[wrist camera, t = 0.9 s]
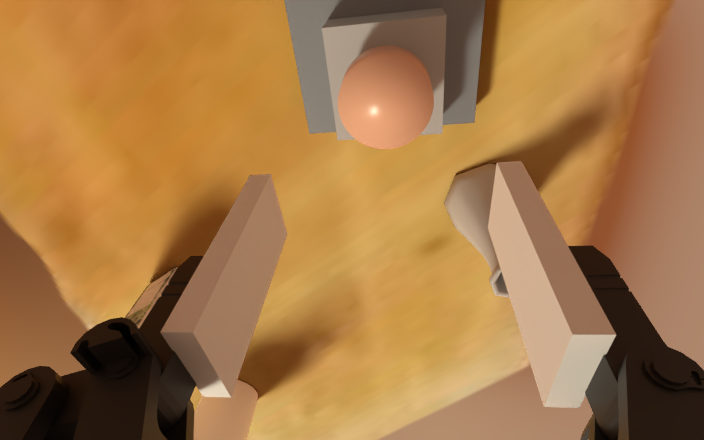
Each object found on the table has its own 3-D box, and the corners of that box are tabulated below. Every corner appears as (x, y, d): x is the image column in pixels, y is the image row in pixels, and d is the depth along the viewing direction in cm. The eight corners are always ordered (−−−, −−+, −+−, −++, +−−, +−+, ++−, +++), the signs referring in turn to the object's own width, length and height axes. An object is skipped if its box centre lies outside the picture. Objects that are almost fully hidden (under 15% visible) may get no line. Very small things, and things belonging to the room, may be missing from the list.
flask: (535, 157, 30) (586, 237, 23) (524, 227, 35) (563, 315, 27) (443, 165, 32) (460, 245, 24) (444, 232, 36) (458, 318, 28)
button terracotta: (340, 40, 23) (331, 60, 19) (428, 31, 22) (435, 50, 19) (350, 122, 26) (343, 151, 23) (427, 117, 25) (432, 146, 22)
